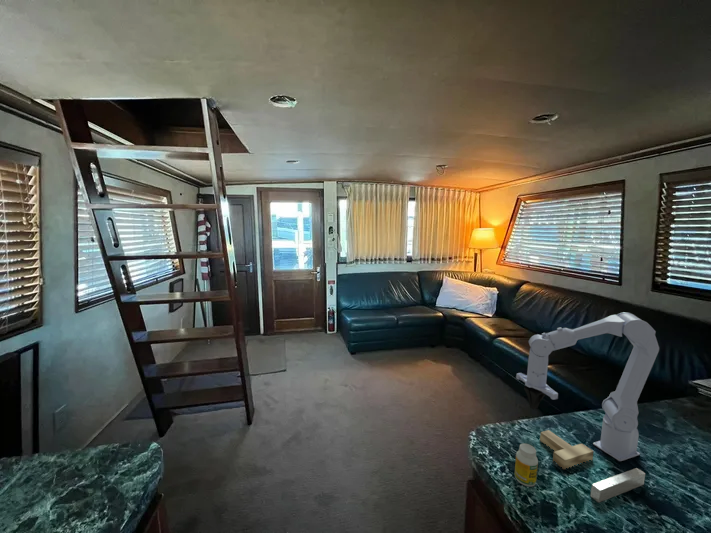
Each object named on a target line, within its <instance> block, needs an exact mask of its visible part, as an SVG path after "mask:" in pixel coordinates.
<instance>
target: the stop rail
mask: <svg viewBox="0 0 711 533" xmlns="http://www.w3.org/2000/svg"><path fill="white" fill-rule="evenodd" d="M645 477H646V473H645V472H644V471H643V470H642V469H640V468H637V467H636V468H633V469H630V470H627V471H624V472H622V473H619V474H616V475H613V476H610V477H608V478H606V479H602V480H599V481H597V482H594V483H592V484H591V488H590V497H591V498H592V499H593V500H595V502H597V503H601V502H604V501H606V500H609V499H612V498H614V497H617V496H619V495H621V494H624V493H627V492H629V491H631V490H633V489H636V488H639V487H642V486H644V484H645V479H646V478H645Z"/></svg>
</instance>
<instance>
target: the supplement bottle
mask: <svg viewBox="0 0 711 533" xmlns="http://www.w3.org/2000/svg"><path fill="white" fill-rule="evenodd" d="M518 448H519V449H518V450H517V451H516V453H515V461H514V462H515V464H514V465H515V466H514V478H515V480H517V482H518V483H519V484H521V485H523V486H525V487H530V488H531V487H534V486H535V485H536V484H537V479H538V478H537V476H538V465H539V460H538V457H537V450H536V448H535V447H534V446H533V445H531V444H529V443H524V442H523V443H520V444H519V447H518Z"/></svg>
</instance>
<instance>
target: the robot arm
mask: <svg viewBox="0 0 711 533" xmlns="http://www.w3.org/2000/svg"><path fill="white" fill-rule="evenodd" d="M656 332H657V331H656V330H655V329H654V328H653V327H652V325H650V324H649V323H648V322H647V321H645V320H642V319H641V318H639V317H638V316H636V315H635V314H633V313H631V312H624V311H623V312H620V313H617V314H611V315H609V316H606V317H603V318H602V319H599V320H596V321H593V322H590V323H587V324H584V325H582V326H579V327H576V328H568V327H563V328H562V327H557V328H556V330H552V331H550V332H543V333H541V334H538V333H537V334H534V335H532V336H531V337H530V338H529V340H528V344H529V347H530V348H529V352H528V353H529V354H528V359H527V360H528V362H527V369H526V370H527V372H526V374H525V373H522V372H518V373H516V376H515V379H516V380H520V381H522V382H523V383H524V386H523V390H524V391H525V393H526V396H527V399H528V400H527V401H528V404H529V408H530V409H532V410H538V408H539V406H540V403H541V402H542V400H543V399H544V397H545V396H548V397H549V398H550V399H551V400H558V399H559V393H558V392H557V391H555V390H554V389H553V388H551V387H550V386H549V385H548V384H547V378H548V368H549V355H551V353H552V352H553V351H554V352H555V351H557V350H558V351H559V350H560V349H564V348H568V347H572V346H575V345H576V344H577V341H578V340H583V339H586V338H591V337H596V336H600V335H604V334H609V335H610V334H611V335H614V336H618V337H620V338H621V337H622V338H623V335H624V336H625V337H626V338H627V339H628V341H629V343H630V344H631V345H632V346H633V347H632V350H631V353H630V355H629V356H628V360H627V362H626V364H625V367H624V369H623V372H622V375H621V377H620V379H619V381H618V383H617V385H616V389H615V391H611V392H610V394H609V396H607V398H605V399H603V401H602V403H601V407H602V410H603V411H604V413H605V414H604V415H603V417H602V423H601V424H602V427H601V432H600V434H601V435H600V440H598V441H595V442H593V443H592V444H593V446H595V447H596V448H598V449H600V450H601V451H603V452H604V453H606V454H608V455H609V456H611V457H613V459H615V460H617V461H618V462H622V461H626V460H628V459H631V458H632V459H633V458H636V457H637V456H640V455H641V453H640V452H638V451H637V449H638V443H639V435H640V434H639V430H638V427H639V426H638V425H639V421H638V416H639V407H638V400H639V398H640V396H641V393H642V391H643V389H644V386H645V384H646V382H647V380H648V377H649V375H650V373H651V371H652V368H653V366H654V363H655V361H656V358H657V356H658V354H659V352H660V346H659V343H658V340H657V337H656Z"/></svg>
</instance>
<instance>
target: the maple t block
mask: <svg viewBox="0 0 711 533" xmlns="http://www.w3.org/2000/svg"><path fill="white" fill-rule="evenodd" d="M539 441H540V442H541V443H543V444H544V445H545V444H546V446H547V447H548V446H549V447H550V448H549V447H548V448H549V449H551V450H552V449H553V450H554V451H553V450H552V451H553V454H552V462H554V461H555V462H556V463H557V464H558V466H559V467H560V468H561V467H562V468H561V469H562V470H567V469H569V467H570V468H572V466H573V467H575V466H574V465H576V466H578V465H577V464H579V465H581V464H580V463H582V464H584V463H583V462H585V463H587V462H586V461H588V462H590V461H589V460H591V461H593V459H594V450H593V449H591V448H589V447H588V446H586V445H585V444H583V443H578V444H575V445H571V444H570V443H568V442H567V441H565V440H564V439H562V438H561V437H559V436H558V435H556V434H555V433H554V432H552V431H551V430H549V429H548V430H544V431H540V434H539ZM555 462H554V463H555ZM556 463H555V464H556ZM557 464H556V465H557ZM566 468H567V469H566Z"/></svg>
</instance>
